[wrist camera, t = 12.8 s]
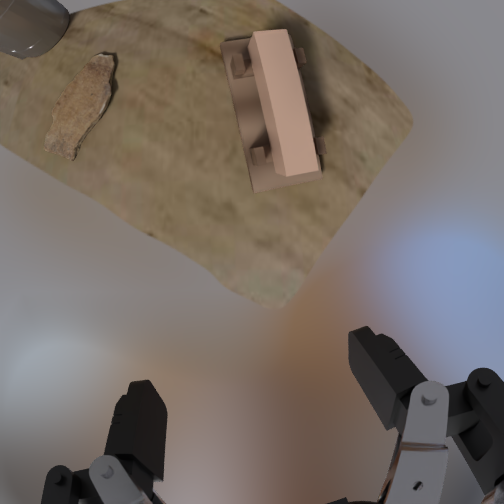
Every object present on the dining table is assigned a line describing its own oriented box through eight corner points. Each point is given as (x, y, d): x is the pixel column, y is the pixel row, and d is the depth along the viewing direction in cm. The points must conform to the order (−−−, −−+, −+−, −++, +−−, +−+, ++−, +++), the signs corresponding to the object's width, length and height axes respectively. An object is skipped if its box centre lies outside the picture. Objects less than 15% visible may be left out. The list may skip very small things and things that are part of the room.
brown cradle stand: (318, 177, 36) (335, 182, 31) (252, 191, 36) (259, 198, 31) (287, 38, 29) (299, 22, 24) (220, 46, 29) (221, 30, 24)
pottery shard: (86, 54, 27) (43, 150, 30) (80, 48, 25) (35, 149, 27) (134, 65, 29) (89, 166, 32) (130, 58, 27) (81, 165, 30)
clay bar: (275, 173, 33) (286, 176, 28) (247, 47, 27) (253, 31, 22) (303, 167, 33) (318, 170, 28) (276, 44, 27) (286, 29, 22)
